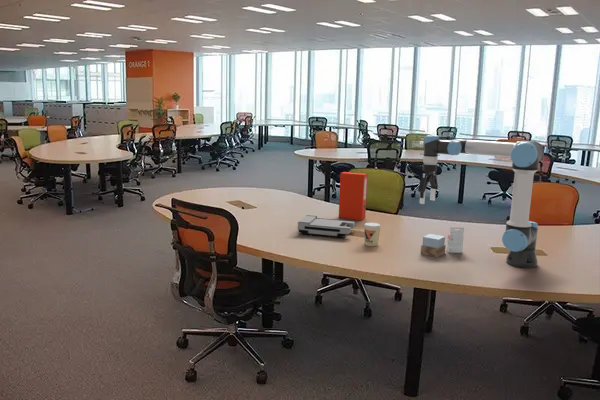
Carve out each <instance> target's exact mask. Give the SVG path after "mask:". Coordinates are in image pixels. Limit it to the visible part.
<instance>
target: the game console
mask: <svg viewBox="0 0 600 400" xmlns="http://www.w3.org/2000/svg"><path fill="white" fill-rule="evenodd" d="M355 227H356V221H355V220H354V221H353V220H345V219H332V218H320V217H318V216H317V215H308V214H307V215H305V216H304V217H302V219H300V220H299V221H298V222H297V230H298V233H300V235H301V234H303V235H302V236H309V235H312V237H319V236H321V237H322V238H329V237H330V239H332V238H333V239H342V238H343V237H344V238H345V237H346V236H347V235H350V234H351V230H352V229H354V228H355ZM321 237H320V238H321Z"/></svg>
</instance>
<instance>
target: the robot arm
mask: <svg viewBox="0 0 600 400" xmlns="http://www.w3.org/2000/svg"><path fill="white" fill-rule="evenodd" d="M460 154H464V155H465V154H466V155H477V156H478V155H479V156H489V157H500V158H501V157H502V158H510V160H511V162H512V164H511V169H512V171H513V172H514V176H513V177H514V178H513V187H512V194H511V195H512V196H511V197H512V198H511V204H510V205H511V207H510V213H509V215H510V216H509V219H508V220H507V221H506V224H505V231H504V232H503V234H502V236H501V241H502V244H503V246H504V247H505V249H507V250H509V251H508V254H507V256H506V260H505V261H506V264H508V265H510V266H513V267H517V268H526V269H528V268H529V269H532V268H536V267H537V266H538V262H539V261H538V258H537V253H536V248H537V247H536V245H537V239H538V231H539V224H538V223H537V222H535V221H531V220H530V211H531V201H532V194H533V193H532V191H533V186H534V185H533V183H534V176H535V173H536V172H538V171H539V162H540V161H542V159H543V158H544V154H545V149H544V146H543V145H542V144H541V143H540V142H538V141H536V140H528V141H522V140H521V141H516V142H507V141H505V142H502V141H489V140H475V139H473V140H472V139H464V138H457V139H440V136H439V135H433V134H432V135H429V134H428V135H426V136H425V137H424V142H423V157H422V160H423V161H422V162H423V164H422V171H423V172H424V173H422V174H421V178H420V183H419V186H418V189H417V190H418V192H419V202H418V203H419V204H421V205H425V203H426V202H425V201H426V189H427V186H428V184H429V185H430V187H431V188H430V194H429V200H430V201H433V202H435V201H436V190H438V187H439V185H438V178H437V169H438V159H439V157H438V156H439V155H450V156H458V155H460Z"/></svg>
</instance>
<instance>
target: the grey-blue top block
mask: <svg viewBox="0 0 600 400" xmlns="http://www.w3.org/2000/svg"><path fill="white" fill-rule="evenodd" d="M421 245H422V246H427V247H432V248H437V249H438V248H440V247H442V246H444V245H446V236H444V235H439V234H434V233H428V234H426V235H424V236H423V237H422V243H421Z"/></svg>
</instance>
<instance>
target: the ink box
mask: <svg viewBox="0 0 600 400" xmlns="http://www.w3.org/2000/svg"><path fill="white" fill-rule="evenodd" d="M464 234H465V227H450V231H449V234H447V241H446V242H447V244H446V252H447V253H450V254H463V248H464V239H465V238H464V237H465V236H464Z"/></svg>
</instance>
